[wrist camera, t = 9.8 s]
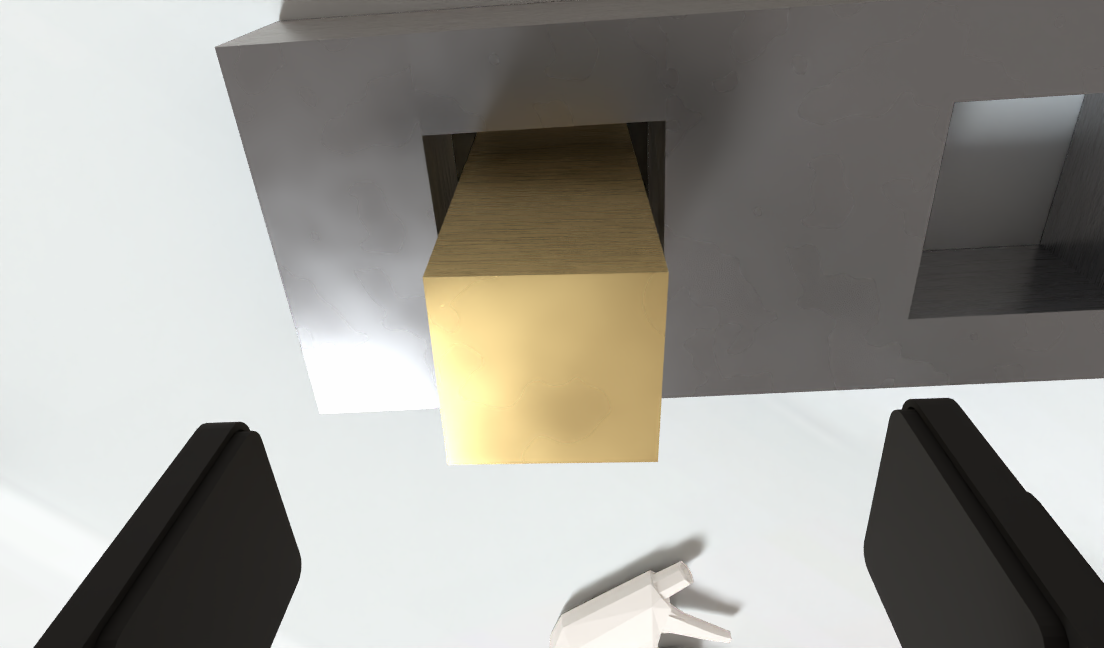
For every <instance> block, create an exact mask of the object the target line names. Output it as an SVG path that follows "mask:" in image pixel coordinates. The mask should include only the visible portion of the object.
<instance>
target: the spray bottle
mask: <svg viewBox="0 0 1104 648" xmlns="http://www.w3.org/2000/svg"><path fill="white" fill-rule="evenodd" d="M692 583H693V577H692V574H691V572H690V570H689V568H688V566H687V565H686V564H685V563H684V562H683V561H680V562H678V563H676V564H674V565H672V566H670V567H667V568H665V569H663V570H661V571H659V572H657V573H656V572H653V571H651V570H649V571H647V572H645V573H643V574H641V575H639V576H637V577H635V578H633V579H631V580H629V581H627V582H625V583H623V584H621V585H619V586H617V587H615V588H613V589H611V590H609V591H607V592H605V593H603V594H601V595H599V596H597V597H595V598H593V599H591V600H589V601H587V602H585V603H584V604H582V605H580V606H578V607H576V608H574V609H572V610H570V611H568V612H566V613H564V614H562V615H561V617H560V618H559V620H558V622H557V624H556V626H555V627H554V629H553V631H552V633H551V635H550V648H659V647H658V643H659V639H660V635H661V633H674V634H679V635H684V636H689V637H694V638H699V639H704V640H710V641H718V642H725V643H730V641H731V639H732V638H731V633H730V631H728V630H725V629H723V628H720V627H718V626H715V625H713V624H711V623H708V622H706V621H703V620H701V619H698V618H696V617H693V616H691V615H688V614H686V613H684V612H682V611H681V610H679V609H678V608H676V607H675V606H673V605H672V604H670V599H669V597H670V596H672V595H674V594H675V593H677V592H679V591H680V590H682V589H683V588H685V587H687V586H689V585H690V584H692Z"/></svg>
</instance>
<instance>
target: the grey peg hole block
mask: <svg viewBox="0 0 1104 648" xmlns="http://www.w3.org/2000/svg"><path fill="white" fill-rule="evenodd" d="M215 50H216V53H217V57H218V60H219V64H220V67H221V71H222V74H223V78H224V81H225V85H226V88H227V91H228V95H229V98H230V102H231V105H232V109H233V112H234V116H235V119H236V123H237V126H238V130H239V133H240V137H241V140H242V144H243V147H244V151H245V154H246V158H247V161H248V164H249V168H250V171H251V175H252V178H253V182H254V185H255V189H256V192H257V196H258V199H259V203H260V206H261V210H262V213H263V217H264V220H265V224H266V227H267V231H268V234H269V238H270V241H271V244H272V248H273V251H274V255H275V258H276V262H277V265H278V269H279V272H280V276H281V279H282V283H283V286H284V290H285V293H286V297H287V300H288V304H289V307H290V311H291V314H292V317H293V321H294V324H295V328H296V331H297V335H298V338H299V342H300V345H301V349H302V352H303V356H304V359H305V363H306V366H307V370H308V373H309V377H310V380H311V384H312V387H313V391H314V394H315V397H316V401H317V404H318V408H319V411H320V414H325V413H347V412H369V411H391V410H413V409H435V408H440V402H439V395H438V388H437V380H436V373H435V366H434V358H433V351H432V343H431V336H430V329H429V321H428V314H427V307H426V299H425V292H424V284H423V275H424V272H425V270H426V267H427V264H428V262H429V259H430V256H431V254H432V251H433V248H434V246H435V243H436V240H437V238H438V235H439V233H440V230H441V227H442V225H443V222H444V219H445V217H446V214H447V211H448V209H449V206H450V203H451V201H452V198H453V195H454V193H455V190H456V187H457V185H458V178H457V171H456V164H455V156H454V149H453V142H452V135H451V134H456V133H472V132H488V131H504V130H520V129H536V128H552V127H568V126H584V125H600V124H616V123H632V122H648V201H649V205H650V208H651V212H652V215H653V219H654V222H655V226H656V229H657V233H658V236H659V240H660V243H661V247H662V250H663V254H664V257H665V261H666V264H667V268H668V271H669V278H668V295H667V312H666V329H665V346H664V363H663V381H662V398H677V397H699V396H721V395H743V394H765V393H787V392H809V391H831V390H853V389H875V388H897V387H919V386H941V385H963V384H985V383H1007V382H1029V381H1051V380H1073V379H1095V378H1104V0H570V1H556V2H542V3H528V4H514V5H500V6H485V7H471V8H457V9H443V10H429V11H414V12H400V13H386V14H372V15H358V16H344V17H329V18H315V19H301V20H287V21H277V22H275V23H272V24H270V25H267V26H265V27H262V28H260V29H258V30H255V31H253V32H250V33H248V34H245V35H243V36H241V37H238V38H236V39H233V40H231V41H229V42H226V43H224V44H221V45H219V46H216V47H215ZM1079 94H1085V97H1084V100H1083V104H1082V107H1081V110H1080V113H1079V117H1078V120H1077V123H1076V127H1075V130H1074V133H1073V137H1072V140H1071V143H1070V146H1069V150H1068V153H1067V156H1066V160H1065V163H1064V166H1063V170H1062V173H1061V176H1060V179H1059V183H1058V186H1057V189H1056V193H1055V196H1054V199H1053V203H1052V206H1051V209H1050V212H1049V216H1048V219H1047V222H1046V226H1045V229H1044V232H1043V236H1042V239H1041V242H1040V245H1028V246H1009V247H991V248H972V249H953V250H935V251H923V246H924V241H925V237H926V232H927V227H928V223H929V218H930V213H931V209H932V204H933V199H934V195H935V190H936V185H937V181H938V176H939V171H940V167H941V162H942V157H943V153H944V148H945V143H946V138H947V134H948V129H949V124H950V120H951V115H952V110H953V106H954V102H967V101H983V100H999V99H1015V98H1031V97H1047V96H1063V95H1079Z"/></svg>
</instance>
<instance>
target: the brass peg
mask: <svg viewBox="0 0 1104 648" xmlns="http://www.w3.org/2000/svg"><path fill="white" fill-rule="evenodd" d="M668 278H669V271H668V268H667V264H666V261H665V257H664V254H663V250H662V247H661V243H660V240H659V236H658V233H657V229H656V226H655V222H654V219H653V215H652V212H651V208H650V205H649V201H648V198H647V194H646V190H645V187H644V183H643V180H642V176H641V173H640V169H639V166H638V162H637V159H636V155H635V152H634V148H633V145H632V141H631V138H630V134H629V131H628V127H627V124H626V123H616V124H600V125H584V126H568V127H552V128H536V129H520V130H504V131H488V132H477V134H476V137H475V140H474V142H473V145H472V148H471V150H470V153H469V156H468V158H467V161H466V164H465V166H464V169H463V172H462V174H461V177H460V180H459V182H458V185H457V187H456V190H455V193H454V195H453V198H452V201H451V203H450V206H449V209H448V211H447V214H446V217H445V219H444V222H443V225H442V227H441V230H440V233H439V235H438V238H437V240H436V243H435V246H434V248H433V251H432V254H431V256H430V259H429V262H428V264H427V267H426V270H425V272H424V275H423V284H424V292H425V299H426V307H427V314H428V321H429V329H430V336H431V343H432V351H433V358H434V366H435V373H436V380H437V388H438V395H439V402H440V410H441V417H442V425H443V432H444V439H445V447H446V454H447V461H448V465H452V464H527V463H602V462H658V449H659V432H660V415H661V398H662V381H663V363H664V346H665V329H666V312H667V295H668Z"/></svg>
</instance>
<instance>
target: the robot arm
mask: <svg viewBox="0 0 1104 648" xmlns="http://www.w3.org/2000/svg"><path fill="white" fill-rule="evenodd" d="M864 558H865V563H866V566H867V569H868V572H869V574H870V576H871V578H872V581H873V583H874V585H875V587H876V590H877V592H878V594H879V596H880V599H881V601H882V603H883V605H884V608H885V610H886V612H887V614H888V617H889V619H890V621H891V623H892V626H893V628H894V630H895V632H896V635H897V637H898V639H899V641H900V644H901V646H902V648H1104V583H1103V582H1102V580H1101V579H1100V578H1099V577H1098V575H1097V574H1096V573H1095V571H1094V570H1093V569H1092V568H1091V566H1090V565H1089V564H1088V563H1087V561H1086V560H1085V559H1084V558H1083V556H1082V555H1081V554H1080V553H1079V551H1078V550H1077V549H1076V547H1075V546H1074V545H1073V544H1072V542H1071V541H1070V540H1069V539H1068V537H1067V536H1066V535H1065V534H1064V532H1063V531H1062V530H1061V529H1060V527H1059V526H1058V525H1057V523H1056V522H1055V521H1054V520H1053V518H1052V517H1051V516H1050V515H1049V513H1048V512H1047V511H1046V510H1045V508H1044V507H1043V506H1042V504H1041V503H1040V502H1039V501H1038V500H1037V499H1036V498H1035V497H1034V496H1033V495H1032V494H1031V493H1029V492H1027V491H1026V490H1025V489H1024V488H1023V487H1022V485H1021V484H1020V483H1019V481H1018V480H1017V479H1016V478H1015V476H1014V475H1013V474H1012V473H1011V471H1010V470H1009V469H1008V467H1007V466H1006V465H1005V464H1004V462H1003V461H1002V460H1001V458H1000V457H999V456H998V455H997V453H996V452H995V451H994V449H993V448H992V447H991V446H990V444H989V443H988V442H987V441H986V439H985V438H984V437H983V435H982V434H981V433H980V432H979V430H978V429H977V428H976V426H975V425H974V424H973V423H972V421H971V420H970V419H969V418H968V416H967V415H966V414H965V412H964V411H963V410H962V409H961V407H960V406H959V405H958V404H957V403H956V402H955V401H954V400H953V399H950V398H932V399H909V400H907V401H906V402H905V403H904V405H903V407H902V410H894V411H893V412H892V413H891V416H890V419H889V423H888V428H887V433H886V438H885V443H884V448H883V453H882V458H881V462H880V467H879V472H878V477H877V482H876V487H875V492H874V497H873V501H872V506H871V511H870V516H869V521H868V526H867V531H866V536H865V540H864ZM300 573H301V556H300V553H299V550H298V547H297V544H296V541H295V538H294V535H293V532H292V529H291V526H290V523H289V520H288V517H287V514H286V511H285V508H284V505H283V502H282V499H281V496H280V493H279V490H278V487H277V484H276V481H275V478H274V475H273V472H272V469H271V466H270V463H269V460H268V457H267V454H266V451H265V448H264V445H263V442H262V439H261V437H260V435H259V434H258V433H257V432H256V431H250V429H249V427H248V426H247V425H246V424H245V423H243V422H222V423H205V424H202V425H201V426H200V427H199V428H198V429H197V430H196V431H195V432H194V434H193V435H192V437H191V438H190V439H189V441H188V442H187V443H186V445H185V446H184V447H183V449H182V450H181V451H180V453H179V454H178V455H177V457H176V458H175V459H174V461H173V462H172V463H171V465H170V466H169V467H168V469H167V470H166V471H165V473H164V474H163V475H162V477H161V478H160V479H159V481H158V482H157V483H156V485H155V486H154V487H153V489H152V490H151V491H150V493H149V494H148V495H147V497H146V498H145V499H144V501H143V502H142V503H141V505H140V506H139V507H138V509H137V510H136V511H135V513H134V514H133V515H132V517H131V518H130V519H129V521H128V522H127V523H126V525H125V526H124V527H123V529H122V530H121V531H120V533H119V534H118V535H117V537H116V538H115V539H114V541H113V542H112V543H111V545H110V546H109V547H108V549H107V550H106V551H105V553H104V554H103V555H102V557H101V558H100V559H99V561H98V562H97V563H96V565H95V566H94V567H93V569H92V570H91V571H90V573H89V574H88V575H87V577H86V578H85V579H84V581H83V582H82V583H81V585H80V586H79V587H78V589H77V590H76V591H75V593H74V594H73V595H72V597H71V598H70V599H69V601H68V602H67V603H66V605H65V606H64V607H63V609H62V610H61V611H60V613H59V614H58V616H57V617H56V618H55V620H54V621H53V622H52V624H51V625H50V626H49V628H48V629H47V630H46V632H45V633H44V634H43V636H42V637H41V638H40V640H39V641H38V642H37V644H36V645H35V646H34V648H270V647H271V645H272V643H273V640H274V638H275V636H276V633H277V631H278V628H279V626H280V624H281V621H282V619H283V617H284V614H285V612H286V610H287V607H288V605H289V602H290V600H291V598H292V595H293V593H294V591H295V588H296V586H297V584H298V581H299V578H300Z"/></svg>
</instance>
